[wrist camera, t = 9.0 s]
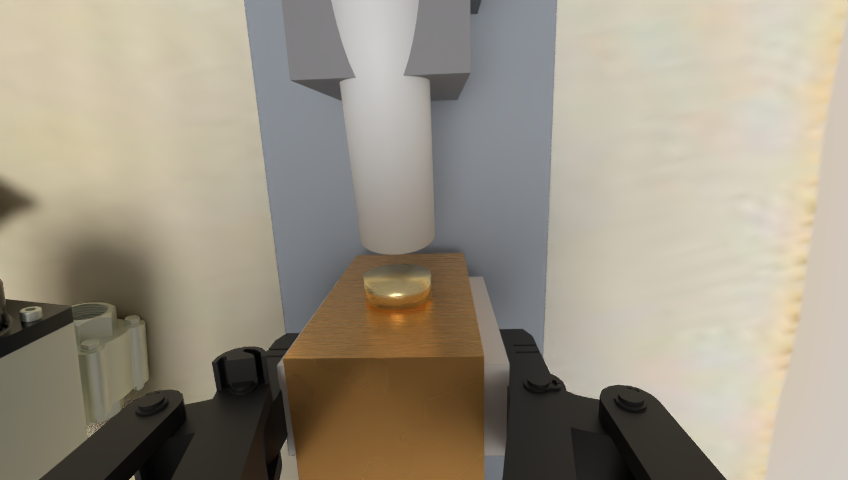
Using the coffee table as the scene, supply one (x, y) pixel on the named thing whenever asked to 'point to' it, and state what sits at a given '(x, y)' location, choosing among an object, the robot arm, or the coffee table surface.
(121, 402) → the pneumatic valve
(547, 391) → the robot arm
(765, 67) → the coffee table surface
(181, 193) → the coffee table surface
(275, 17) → the shaft rig
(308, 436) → the universal joint coupler
